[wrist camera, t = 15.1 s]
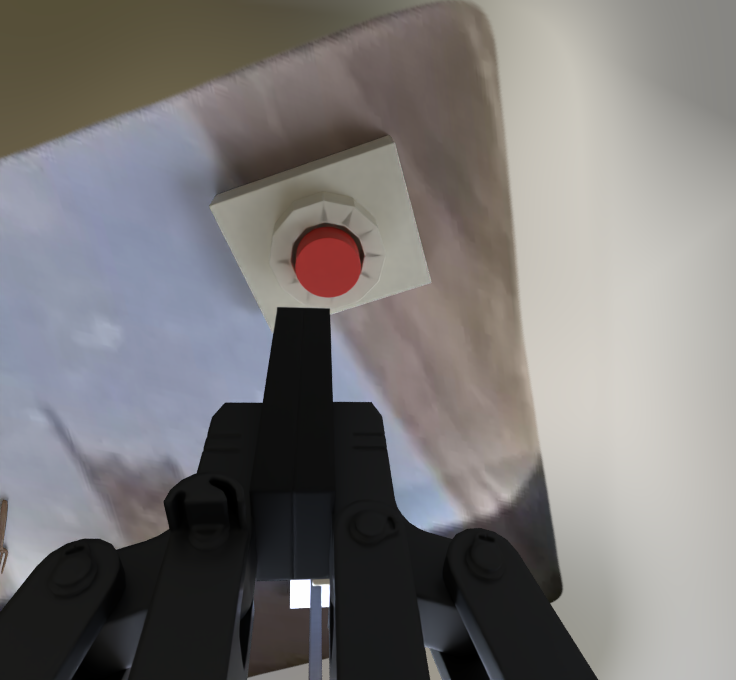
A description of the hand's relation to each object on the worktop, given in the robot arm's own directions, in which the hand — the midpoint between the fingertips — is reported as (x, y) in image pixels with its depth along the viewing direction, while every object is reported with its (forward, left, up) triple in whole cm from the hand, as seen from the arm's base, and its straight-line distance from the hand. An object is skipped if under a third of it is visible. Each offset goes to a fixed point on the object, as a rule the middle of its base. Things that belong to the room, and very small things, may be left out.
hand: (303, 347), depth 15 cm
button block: (+2, +2, -18) cm, 18 cm away
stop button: (+2, +2, -14) cm, 15 cm away
